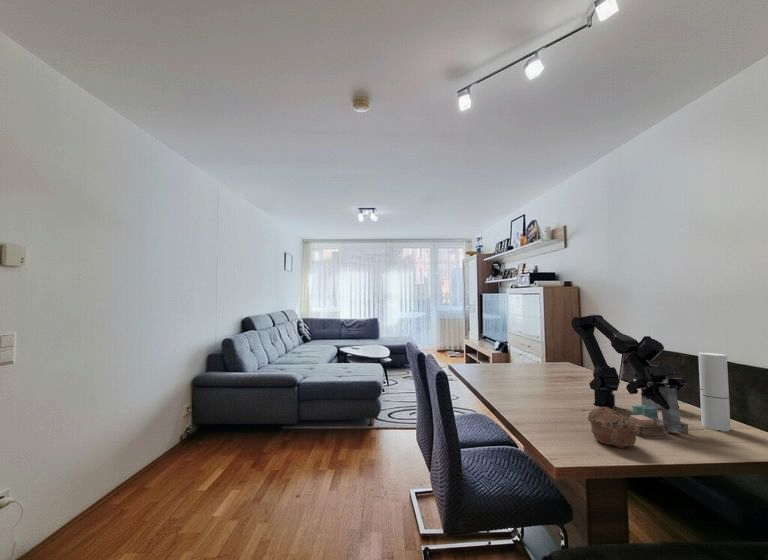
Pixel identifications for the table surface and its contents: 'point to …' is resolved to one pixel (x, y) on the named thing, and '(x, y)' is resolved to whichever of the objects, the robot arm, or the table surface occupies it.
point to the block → (641, 420)
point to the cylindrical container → (714, 391)
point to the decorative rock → (612, 427)
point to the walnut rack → (657, 429)
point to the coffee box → (649, 402)
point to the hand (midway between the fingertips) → (673, 409)
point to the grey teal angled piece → (663, 410)
